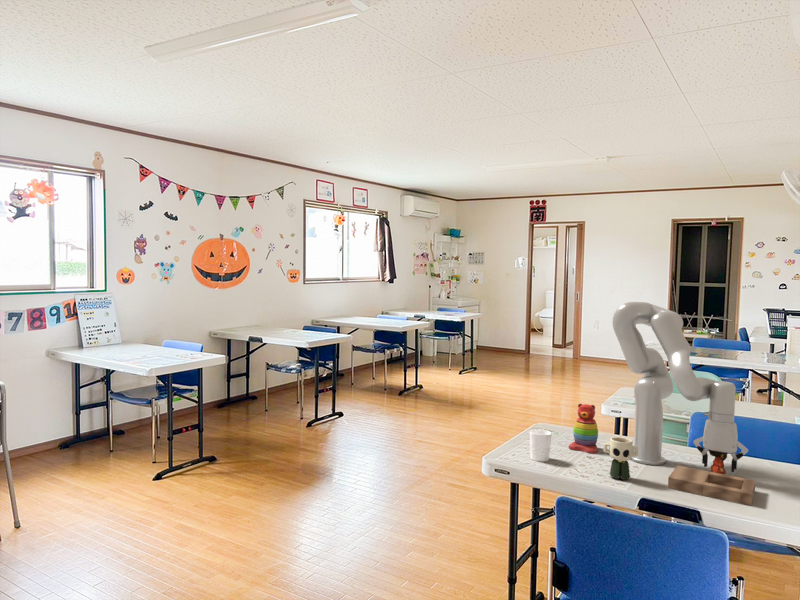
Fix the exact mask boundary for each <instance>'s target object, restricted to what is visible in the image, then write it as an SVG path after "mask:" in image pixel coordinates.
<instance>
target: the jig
mask: <svg viewBox="0 0 800 600" xmlns="http://www.w3.org/2000/svg"><path fill="white" fill-rule="evenodd" d="M667 489H671V490H675V491H681V492H684V493H690V494H694V495H698V496H703V497H707V498H708V497H709V498H712V499H716V500H722V501H726V502H731V503H734V504H735V503H736V504H740V505H745V506H750V507H752V505H753V501H754V497H755V491H756V480H755V479H750V478H745V477H740V476H739V477H738V476H734V475H728V474H725V475H724V474H719V473H714V472H712V471H708V470H702V469H697V468H693V467H687V466H681V465H676V466H675V468H674V469H673V471H672V472H671V473H670V475H669V476H668V482H667Z"/></svg>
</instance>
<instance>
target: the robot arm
mask: <svg viewBox="0 0 800 600" xmlns="http://www.w3.org/2000/svg"><path fill="white" fill-rule="evenodd" d="M640 324H641V325H645V326H648V327H651V329H652V331H653V333H654V335H655V337H656V338H657V340H658V342H659V344H660V345H661V348H662V350H663V351H664V354H665V355H666V358H667V364H668V368H669V370H668V368H667V365H666V363H665V361H664V358H663V357H662V355H661V353H660V352H659V351H658V350H657V349H654V348H652V347H647V346H646V344H645V341H644V338H643V336H642V334H641V332H640V331H639V330H638V328H637V325H640ZM683 327H684V320H683V318H682V316H681V314H679V313H677V312H675V311H673V310H670V309H666V308H664V307H661V306H658V305H656V304H653V303H649V302H645V301H629V302H624V303H623V304H621V305H619V306H618V308H617V309H616V310H615V312H614V314H613V317H612V328H613V331H614V334H615V336H616V338H617V341H618V343H619V345H620V349H621V351H622V353H623V355H624V359H625V361H626V364H627V366H628V368H629V369H630V371H631V372H632V373H634V374H640V375H641V374H642V376H643V377H641V378H640V379H638V380H637V381H636V383H635V384H634V390H633V392H634V399H635V400H634V402H635V410H634V411H635V412H634V413H635V414H634V415H635V417H634V418H635V419H634V434H633V435H634V436H633V437H634V438H633V439H634V440H633V444H632V446H636V447H638V456H632V458H631V460H630V461H633V462H636V463H640V464H644V465H650V466H660V465H664V464H666V463H667V462H666V460H667V459H666V458H665V457H663V456H662V446H663V425H664V424H663V423H664V408H663V402H662V401H663V400H664V399H667V398H669V397H670V396H671V395H672V394H673V391H674V385H675V386H676V388H677V389H678V391H679V393H680V394H681V396H683V398H684V399H686V400H687V401H689V402H690V401H691V402H698V401H701V400H706V399H707V400H708V399H709V411H704V416H705V417H707V419H706V420H705V424H704V428H703V429H704V430H703V436H701V437H698V438H695V439H694V440H692V441H693V442H692V443H693V445H694V446H695V447H696V448H697V451H699V452H700V453H701V455H702V459H701V460H702V461H701V463H702V464H703V467H704V468H706V467H707V466H708V461H709V460H708V459H709V454H708V453H709V451H708V450H712V451H718V452H724V453H728V454H730V455H731V458H732V459H731V466H730V471H731V473H734V472H735V470H737V469H738V468H737V467H738V460H740V459H741V458H742V457H744V456H745V455H746V454H747V453H748V452H749V449H748V448H747V447H746V446H745V445H744V444H742V443H741V442H740V441H738V439H739V438H738V437H739V436H738V426H737V423H736V422H735V412H736V411H735V407H736V406H735V404H736V391H737V390H736V385H735V384H734V383H733V382H730V381H726V380H725V381H724V380H715V379H711V378H707V377H701V376H700V377H697V376H696V374H695V373H694V370H693V368H692V366H691V362H690V356H691V351H692V347H691V345H690V344H689V342H688V340H687V339H686V336H685V335H684V333H683V332H682V329H683ZM673 382H674V383H673ZM701 442H702V445H700V444H701ZM738 448H739V449H740V450H741V452H739V453H737V450H738ZM632 453H635V449H632Z"/></svg>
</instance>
